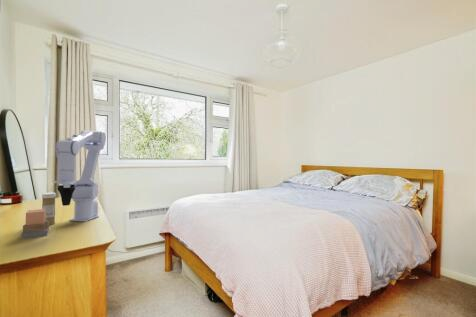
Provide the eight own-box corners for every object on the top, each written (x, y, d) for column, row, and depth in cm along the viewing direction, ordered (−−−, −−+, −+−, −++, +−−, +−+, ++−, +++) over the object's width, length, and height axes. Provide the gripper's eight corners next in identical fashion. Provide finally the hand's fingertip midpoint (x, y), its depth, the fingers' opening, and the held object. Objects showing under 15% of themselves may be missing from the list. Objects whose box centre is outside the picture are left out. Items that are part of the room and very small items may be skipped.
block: (28, 222, 86) (28, 210, 86) (45, 220, 89) (46, 208, 89) (25, 225, 82) (25, 212, 82) (43, 223, 85) (43, 211, 85)
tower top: (29, 228, 86) (29, 221, 86) (49, 226, 89) (49, 220, 89) (22, 233, 81) (22, 226, 81) (44, 231, 84) (44, 224, 84)
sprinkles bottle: (55, 222, 101) (56, 192, 101) (53, 224, 97) (54, 193, 97) (42, 223, 99) (43, 192, 99) (39, 226, 95) (40, 194, 95)
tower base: (24, 235, 86) (24, 228, 86) (48, 232, 90) (48, 225, 90) (21, 240, 80) (21, 233, 80) (47, 237, 84) (47, 230, 84)
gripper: (54, 169, 95) (53, 201, 95) (53, 171, 83) (52, 208, 83) (75, 169, 99) (74, 200, 99) (77, 170, 88) (76, 206, 88)
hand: (65, 203), depth 91 cm, fingers open, 7 cm apart
